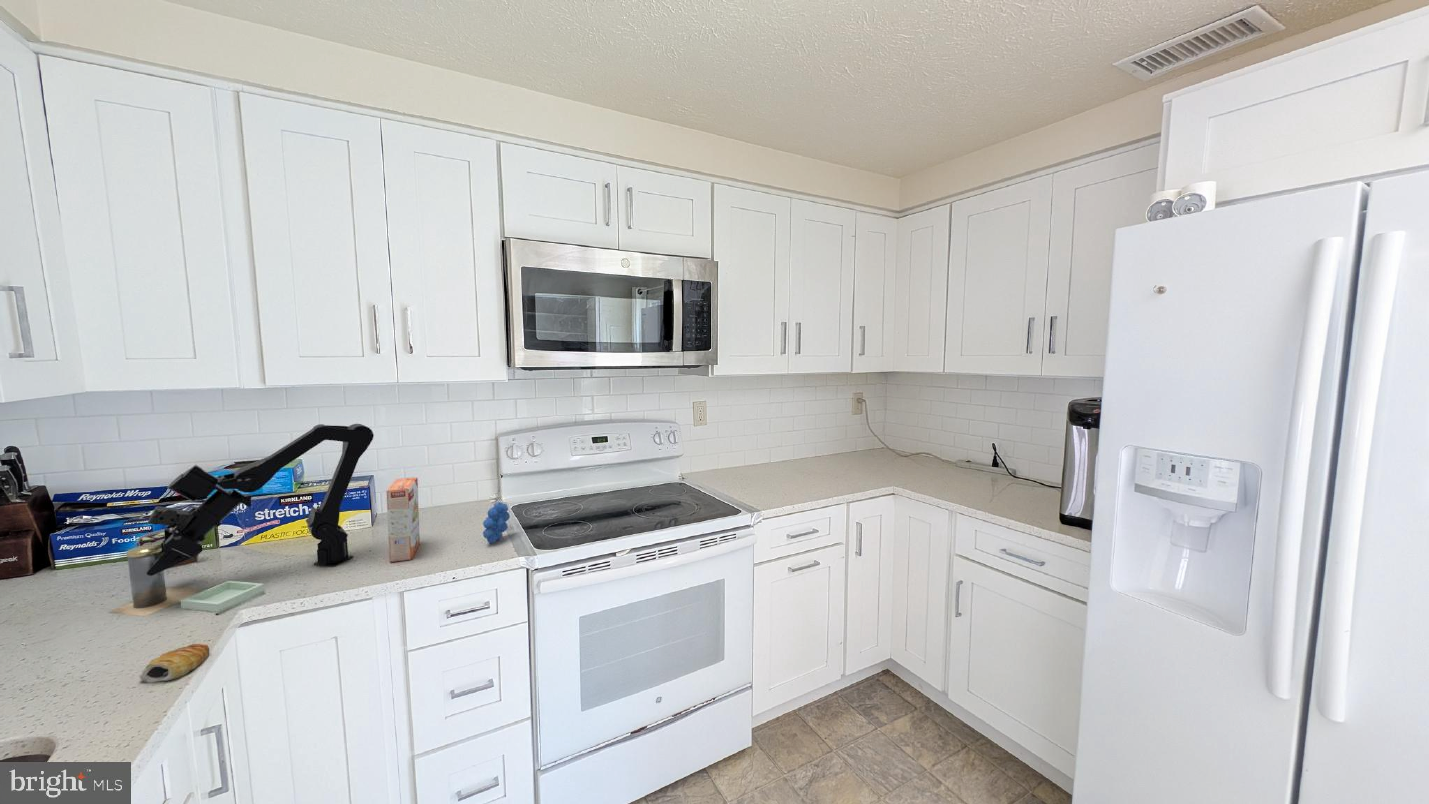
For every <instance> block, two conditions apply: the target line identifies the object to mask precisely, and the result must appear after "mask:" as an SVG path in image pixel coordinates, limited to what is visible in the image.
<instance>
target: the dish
mask: <svg viewBox="0 0 1429 804" xmlns="http://www.w3.org/2000/svg"><path fill="white" fill-rule="evenodd" d="M263 595H265V584H264V583H259V582H258V583H257V582H250V581H249V582H247V581H236V580H227V581H225V582H222V583H220V584H217V585H215V586H212V587H211V588H208V589H207V588H206V589H205V591H202V592H200V593H198V594H195V595H193V596H190V597H188V598H185V599H183V600H181V602H180V609H182V610H190V611H191V610H192V611H200V612H210V613H215V614H214V615H217V616H218V615H219V616H220V615H221V614H224V613H226V612H228V611H230V610H233V609H234V607H235V608H237V607H239V606H242V605H243V604H245V602H246V603H247V601H248V602H250V601H252V600H254V599H256V598H258V597H261V596H263ZM253 598H254V599H253ZM251 599H252V600H251ZM242 603H243V604H242ZM238 605H239V606H238ZM236 606H237V607H236ZM232 608H233V609H232Z"/></svg>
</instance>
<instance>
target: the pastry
mask: <svg viewBox="0 0 1429 804" xmlns="http://www.w3.org/2000/svg"><path fill="white" fill-rule="evenodd" d="M209 654H210V646H209V645H208V644H200V643H193V644H189V645H187V646H182V647H178V648H177V649H174V650H170V651H167V652H164V653H162V654H161V655H160V656H159V657H156V658H154V659H151V660H150V662H149V663H148V664H147V665H146V666H145V668H144V669H142V673H141V674H140V675H139V679H140V680H141V681H143V682H144V683H157V682H164V681H165V682H166V681H171V680H175V679H179V678H181V677H183V676H184V675H188V673H189V672H190V671H192V670H195V669H196V668H198V666H200V665H201V664H202V663H203V662H204V661H205V660H206V659H207V658H208V656H209Z"/></svg>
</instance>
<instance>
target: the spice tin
mask: <svg viewBox="0 0 1429 804" xmlns="http://www.w3.org/2000/svg"><path fill="white" fill-rule="evenodd" d="M135 547H136V546H135ZM135 547H133V548H131V549H130V548H129V549H128V550H126V552H125V553H126V557H127V565H128V573H129V582H130V588H131V589H130V591H131V598H132V599H131V601H132V603H133V607H134V608H146V607H151V606H154V605H157V604H160V603H162V602H164V601H166V600H167V595H166V590H167V588H166V581H165V579H166V578H165V570H163V571H161V572H159V573H157V574H155V575H152V576H150V575H147V574H146V573H147V572H148V570H149V569H150V568H151V567H152V565H153V564H154V563H155V562H156V561H157V559H158V558H159V557H160V556H161V555H162V545H161V544H151V545H144V546H139V545H138V546H137V547H136V548H135Z"/></svg>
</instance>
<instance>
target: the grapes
mask: <svg viewBox="0 0 1429 804" xmlns="http://www.w3.org/2000/svg"><path fill="white" fill-rule="evenodd" d="M508 511H509V507H508V505H507V504H506V503H502V502H500V501H497V502H496V503H495V504H494V505H493V507H491V508H489V509H488V510H487V511H486V514H487V516H488V517H486V518H485V519H484V521H483V522H482V524H483V528H485V529H484V531H483V532H482V535H483V537H484V539H486V541H487V542H488V544H493V543H495V542H497V541H500V540H501V539H502V538H503V533H504V532H506V531H507V530H508V527H509V526H508V523H507V521H509V519H510V516H511V515H510V512H508Z"/></svg>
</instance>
